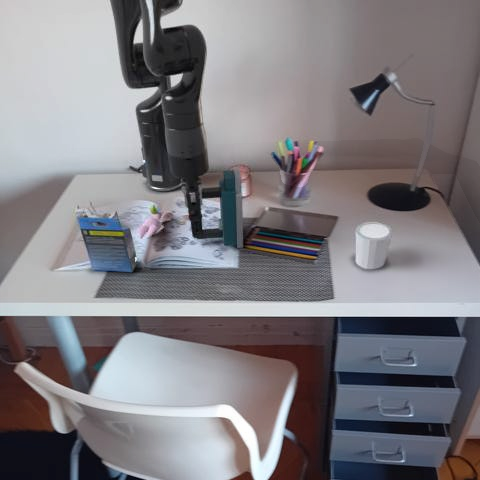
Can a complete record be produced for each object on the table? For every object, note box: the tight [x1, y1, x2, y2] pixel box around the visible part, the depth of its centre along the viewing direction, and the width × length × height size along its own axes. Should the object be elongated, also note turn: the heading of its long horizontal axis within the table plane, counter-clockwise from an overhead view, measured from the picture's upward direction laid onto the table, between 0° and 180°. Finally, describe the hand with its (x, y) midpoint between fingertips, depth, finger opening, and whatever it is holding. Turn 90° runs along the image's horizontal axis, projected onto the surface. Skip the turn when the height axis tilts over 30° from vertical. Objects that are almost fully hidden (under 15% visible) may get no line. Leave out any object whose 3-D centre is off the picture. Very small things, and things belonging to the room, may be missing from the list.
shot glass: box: [355, 221, 393, 270], centre depth 97 cm, size 7×7×7 cm
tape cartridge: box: [76, 216, 139, 273], centre depth 99 cm, size 9×4×12 cm, turn 79°
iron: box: [191, 166, 244, 249], centre depth 103 cm, size 15×7×10 cm
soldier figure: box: [74, 200, 119, 219], centre depth 117 cm, size 8×5×12 cm
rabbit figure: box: [137, 204, 165, 240], centre depth 111 cm, size 6×6×15 cm
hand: (196, 224), depth 105 cm, fingers open, 7 cm apart
